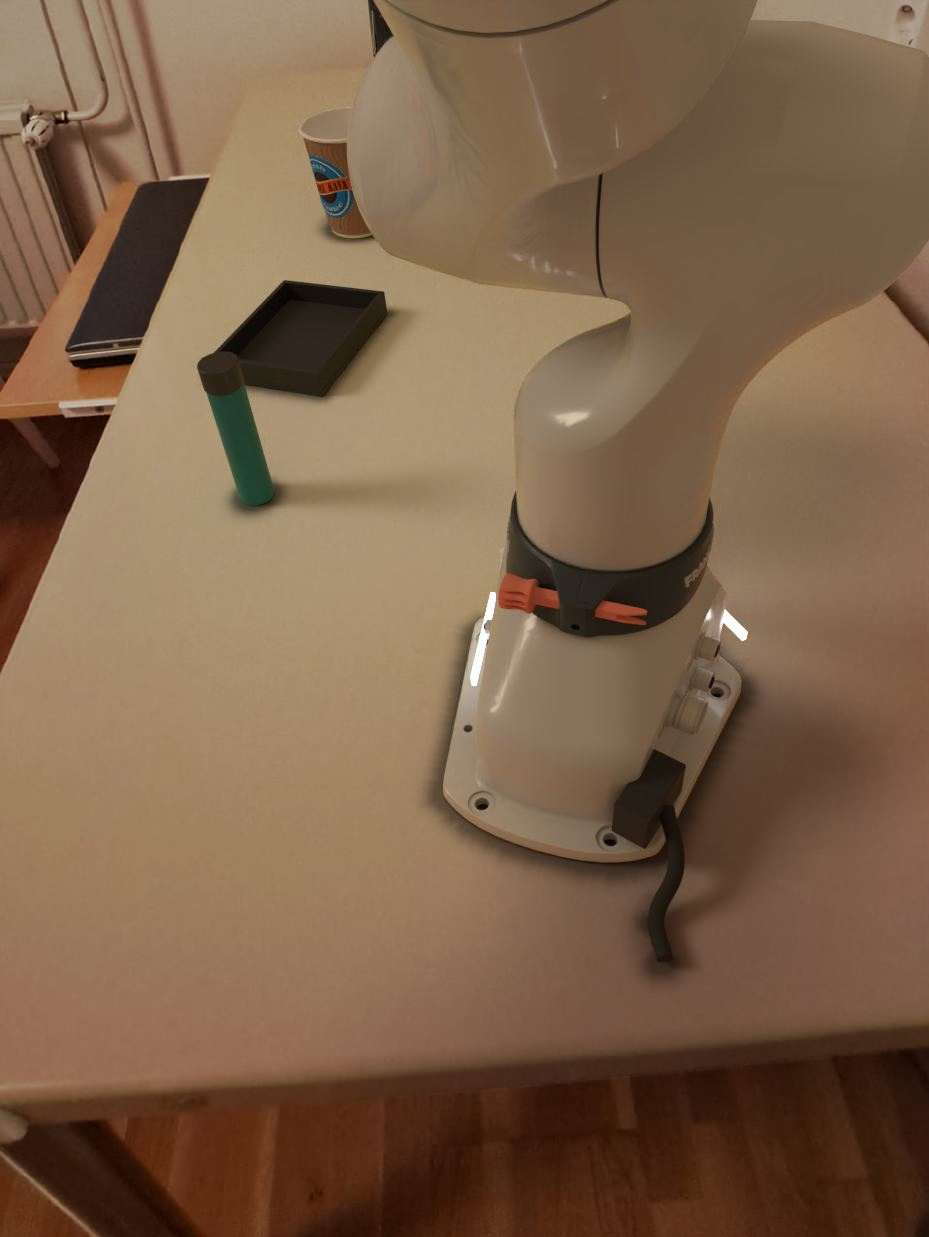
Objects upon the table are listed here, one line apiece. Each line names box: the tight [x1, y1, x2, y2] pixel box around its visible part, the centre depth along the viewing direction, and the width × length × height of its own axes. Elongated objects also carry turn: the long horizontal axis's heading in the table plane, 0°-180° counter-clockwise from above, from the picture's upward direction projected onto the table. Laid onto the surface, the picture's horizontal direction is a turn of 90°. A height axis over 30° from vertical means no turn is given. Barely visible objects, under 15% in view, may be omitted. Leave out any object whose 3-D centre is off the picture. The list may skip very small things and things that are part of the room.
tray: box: [213, 279, 388, 397], centre depth 96 cm, size 16×12×3 cm
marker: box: [196, 351, 275, 507], centre depth 76 cm, size 3×3×13 cm
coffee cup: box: [298, 106, 373, 239], centre depth 111 cm, size 10×10×12 cm
